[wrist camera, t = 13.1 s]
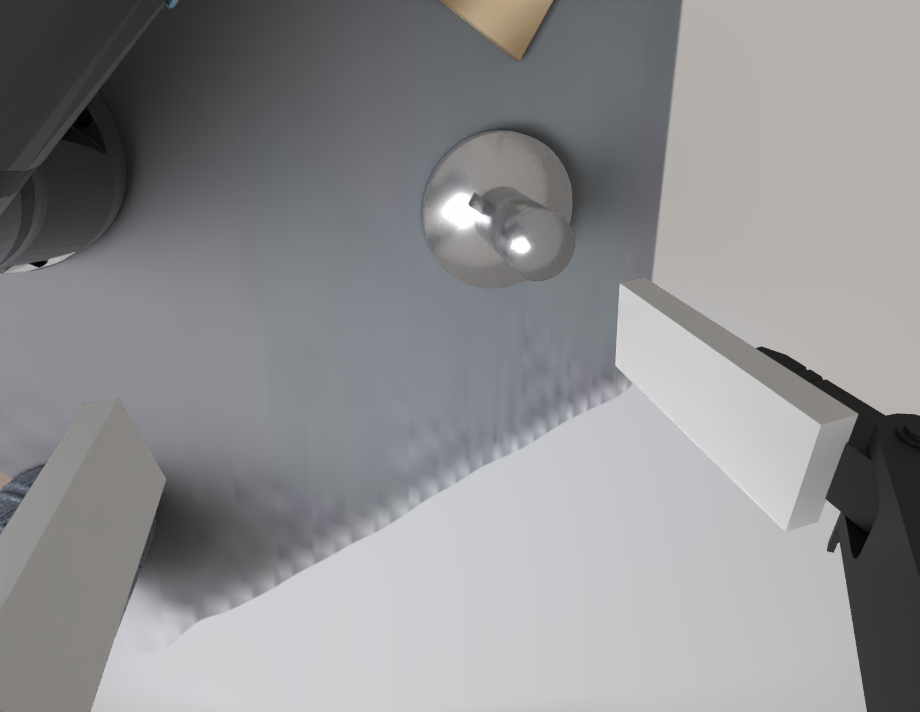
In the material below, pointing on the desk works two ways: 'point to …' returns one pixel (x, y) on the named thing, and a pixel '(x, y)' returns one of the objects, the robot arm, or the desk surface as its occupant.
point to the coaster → (503, 20)
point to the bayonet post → (499, 210)
